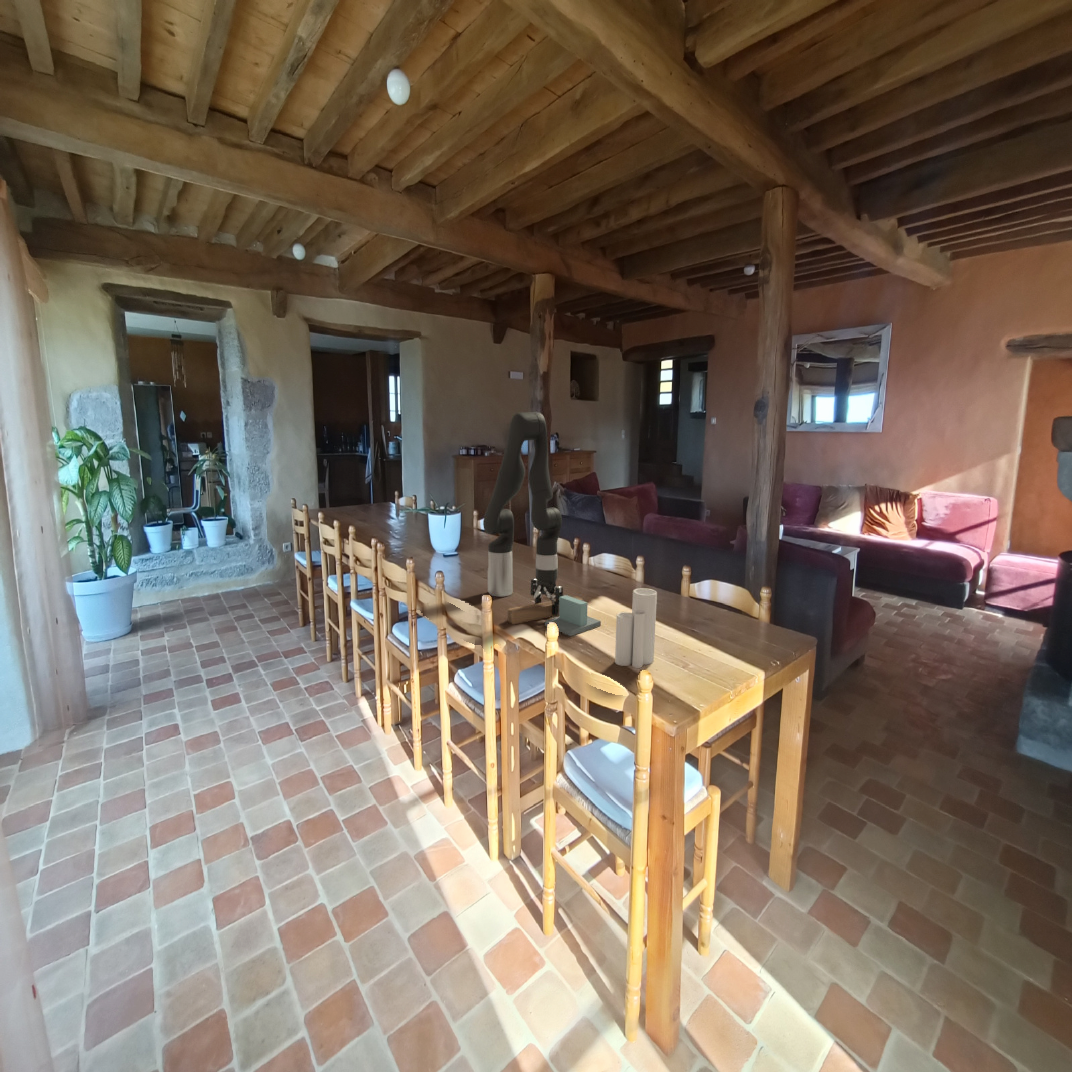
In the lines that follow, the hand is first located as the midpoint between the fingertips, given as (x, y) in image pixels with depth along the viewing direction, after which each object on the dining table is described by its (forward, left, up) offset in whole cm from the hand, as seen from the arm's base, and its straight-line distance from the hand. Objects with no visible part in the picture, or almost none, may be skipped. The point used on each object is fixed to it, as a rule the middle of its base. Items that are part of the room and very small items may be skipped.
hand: (546, 611), depth 188 cm
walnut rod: (0, 0, -2) cm, 2 cm away
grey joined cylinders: (+44, -6, -2) cm, 44 cm away
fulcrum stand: (+13, 0, -1) cm, 13 cm away
